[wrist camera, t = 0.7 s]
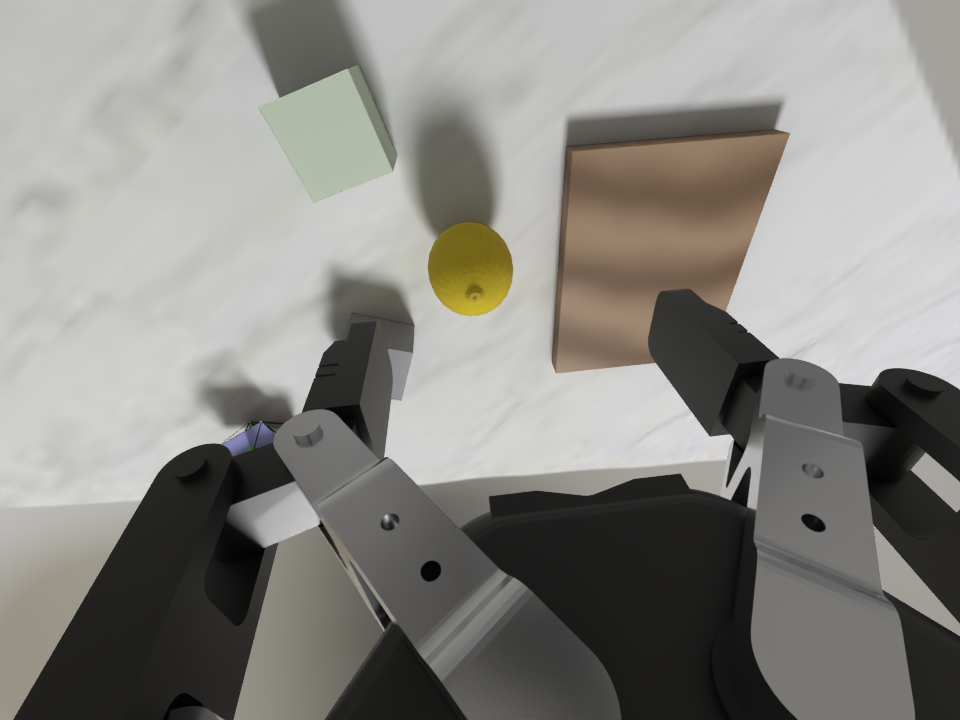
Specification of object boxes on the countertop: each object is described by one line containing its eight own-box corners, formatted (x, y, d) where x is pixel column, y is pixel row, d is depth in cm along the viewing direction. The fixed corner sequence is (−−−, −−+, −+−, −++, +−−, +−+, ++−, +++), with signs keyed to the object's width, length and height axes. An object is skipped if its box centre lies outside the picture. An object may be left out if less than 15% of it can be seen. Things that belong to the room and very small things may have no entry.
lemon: (470, 189, 28) (481, 232, 21) (518, 247, 31) (540, 301, 24) (412, 241, 30) (406, 295, 23) (462, 292, 33) (469, 352, 26)
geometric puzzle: (295, 407, 35) (217, 485, 31) (338, 454, 40) (274, 529, 35) (255, 393, 40) (181, 461, 35) (297, 437, 44) (236, 502, 39)
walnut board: (566, 146, 27) (572, 151, 26) (774, 129, 27) (789, 133, 26) (552, 362, 38) (555, 373, 37) (700, 347, 38) (708, 357, 37)
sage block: (280, 98, 24) (257, 107, 21) (358, 64, 23) (347, 68, 20) (327, 183, 27) (313, 202, 24) (397, 155, 26) (393, 171, 23)
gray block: (352, 312, 33) (344, 340, 30) (414, 324, 34) (412, 352, 31) (346, 360, 36) (338, 391, 33) (403, 369, 37) (401, 400, 34)
